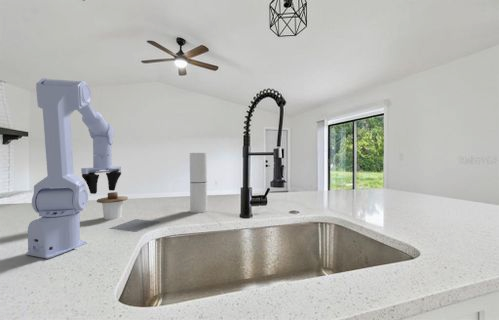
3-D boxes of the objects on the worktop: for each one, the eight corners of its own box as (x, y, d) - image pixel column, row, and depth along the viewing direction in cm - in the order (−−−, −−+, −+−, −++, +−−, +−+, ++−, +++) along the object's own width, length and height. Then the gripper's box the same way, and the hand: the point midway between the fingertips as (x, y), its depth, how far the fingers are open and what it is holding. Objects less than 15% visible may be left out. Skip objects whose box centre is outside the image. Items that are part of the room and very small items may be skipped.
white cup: (98, 219, 82) (97, 201, 82) (116, 215, 88) (116, 197, 88) (108, 221, 79) (108, 202, 79) (127, 217, 85) (126, 199, 85)
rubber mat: (136, 232, 67) (136, 231, 67) (109, 229, 71) (109, 228, 71) (160, 222, 78) (160, 221, 78) (136, 220, 81) (136, 219, 81)
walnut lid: (110, 203, 77) (110, 195, 77) (90, 202, 80) (89, 194, 80) (133, 198, 87) (133, 191, 87) (114, 197, 90) (114, 190, 90)
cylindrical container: (186, 212, 92) (186, 152, 92) (195, 208, 99) (195, 153, 98) (202, 213, 90) (201, 152, 90) (210, 209, 97) (209, 153, 96)
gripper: (92, 155, 74) (92, 195, 74) (126, 155, 88) (127, 189, 88) (76, 155, 76) (77, 194, 76) (112, 155, 90) (113, 188, 90)
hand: (103, 191), depth 82 cm, fingers open, 7 cm apart
